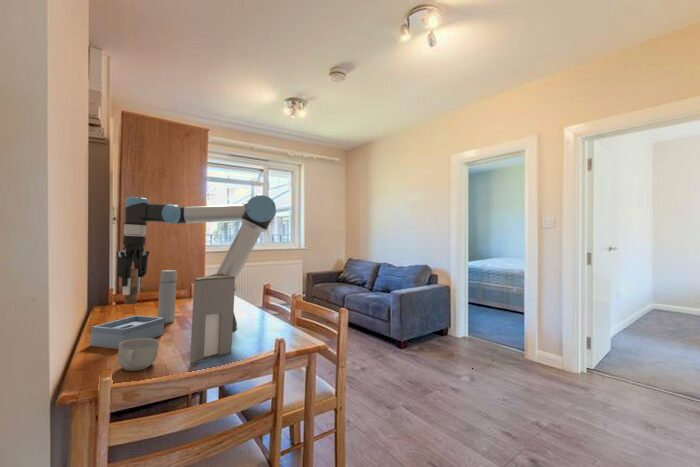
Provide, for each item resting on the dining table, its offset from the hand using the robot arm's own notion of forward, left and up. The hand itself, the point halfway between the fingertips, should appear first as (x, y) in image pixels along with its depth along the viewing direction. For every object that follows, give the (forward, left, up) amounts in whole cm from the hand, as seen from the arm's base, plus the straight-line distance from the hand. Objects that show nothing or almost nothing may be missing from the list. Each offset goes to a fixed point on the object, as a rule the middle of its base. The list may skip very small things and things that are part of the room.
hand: (131, 293), depth 129 cm
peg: (0, 0, -4) cm, 4 cm away
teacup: (-26, +23, -19) cm, 40 cm away
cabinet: (-42, +4, -19) cm, 46 cm away
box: (0, 0, -18) cm, 18 cm away
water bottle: (+7, -29, -19) cm, 35 cm away
